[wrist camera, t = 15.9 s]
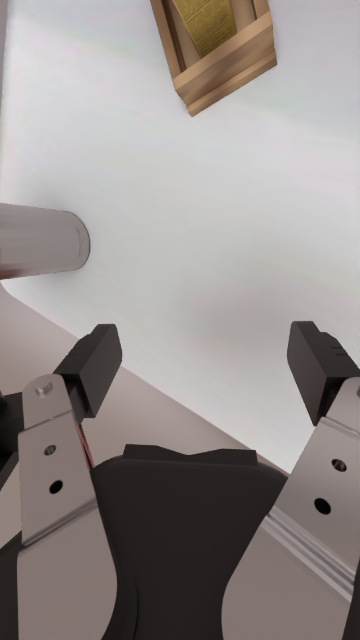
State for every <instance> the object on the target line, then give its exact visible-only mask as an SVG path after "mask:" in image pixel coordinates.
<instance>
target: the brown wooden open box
mask: <svg viewBox="0 0 360 640" xmlns="http://www.w3.org/2000/svg"><path fill="white" fill-rule="evenodd" d="M230 1H231V6H232V10H233V14H234V19H235V23H236V27H237V32H238V33H237V34H236V35H235V36H233V37H232V38H230V39H229V40H227V41H226V42H225V43H223V44H222V45H220V46H219V47H218V48H216V49H215V50H213V51H212V52H211V53H209V54H208V55H206V56H205V57H204V58H202V59H201V57H200V56H199V54H198V52H197V50H196V48H195V46H194V44H193V42H192V40H191V38H190V36H189V35H188V33H187V31H186V29H185V27H184V25H183V23H182V21H181V19H180V17H179V15H178V14H177V12H176V10H175V8H174V6H173V4H172V2H171V0H150V2H151V6H152V9H153V13H154V16H155V20H156V23H157V27H158V31H159V34H160V38H161V41H162V45H163V48H164V52H165V56H166V59H167V63H168V66H169V70H170V73H171V77H172V81H173V84H174V88H175V91H176V92H177V94H178V95H179V96H180V97H181V99H182V100H183V101H184V103H185V104H186V105H187V109H188V112H189V114H190V115H191V116H194V115H196V114H197V113H199V112H200V111H202V110H204V109H205V108H207V107H209V106H210V105H212V104H213V103H215V102H217V101H218V100H220V99H222V98H223V97H225V96H226V95H228V94H230V93H231V92H233V91H235V90H236V89H238V88H239V87H241V86H243V85H244V84H246V83H248V82H249V81H251V80H252V79H254V78H256V77H257V76H259V75H261V74H262V73H264V72H265V71H267V70H269V69H270V68H272V67H274V66H275V65H277V61H276V54H275V49H274V40H273V26H272V20H271V15H270V11H269V6H268V1H267V0H230Z"/></svg>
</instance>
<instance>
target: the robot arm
mask: <svg viewBox="0 0 360 640" xmlns="http://www.w3.org/2000/svg"><path fill="white" fill-rule="evenodd" d="M88 255H89V237H88V233H87V230H86V228H85V226H84V224H83V223H82V222H81V220H80V219H79V218H78V217H77V216H75V215H74V214H72V213H70V212H65V211H58V210H50V209H44V208H36V207H28V206H21V205H13V204H5V203H0V280H3V279H11V278H18V277H26V276H33V275H40V274H48V273H56V272H63V271H71V270H76V269H78V268H80V267H81V266H82V265H83V264H84V263H85V262H86V260H87V257H88ZM287 360H288V364H289V367H290V369H291V372H292V374H293V377H294V379H295V381H296V384H297V386H298V389H299V391H300V394H301V396H302V399H303V401H304V403H305V406H306V408H307V411H308V413H309V416H310V418H311V421H312V423H313V425H314V426H316V428H315V430H314V432H313V434H312V436H311V438H310V439H309V441H308V443H307V445H306V447H305V449H304V450H303V452H302V454H301V456H300V458H299V460H298V461H297V463H296V465H295V467H294V469H293V471H292V472H291V474H290V476H289V478H288V477H287V476H286V475H284V474H283V473H281V472H280V471H278V470H276V469H275V468H273V467H271V466H268V465H266V464H264V463H261V462H258V461H257V456H256V450H240V449H238V450H237V449H218V450H213V451H208V452H203V453H198V454H193V455H185V454H181V453H178V452H175V451H172V450H169V449H166V448H163V447H159V446H155V445H134V444H126V446H125V449H124V452H123V455H120V456H117V457H114V458H111V459H109V460H106V461H104V462H102V463H101V464H99V465H97V466H96V467H95V465H94V462H93V459H92V456H91V453H90V449H89V446H88V443H87V440H86V437H85V434H84V431H83V428H82V425H81V423H82V421H83V419H84V418H95V417H96V415H97V413H98V410H99V408H100V406H101V404H102V402H103V400H104V398H105V396H106V394H107V392H108V390H109V387H110V385H111V383H112V381H113V379H114V377H115V375H116V373H117V371H118V369H119V366H120V364H121V362H122V349H121V344H120V340H119V336H118V332H117V328H116V325H115V324H98V325H97V326H96V327H95V329H94V330H93V331H92V332H91V334H87V335H86V336H85V337H83V338H82V339H80V340H79V341H78V342H77V343H76V344H75V346H74V347H73V349H71V351H70V352H69V353H68V355H67V356H66V357H65V358H64V359H63V361H62V362H61V363H60V365H59V366H58V367H57V368H56V369H55V371H54V372H53V373H52V374H48V375H44V376H41V377H38V378H36V379H35V380H33V381H31V382H30V383H29V384H28V385H27V386H26V387H25V389H24V390H23V392H19V393H15V394H10V395H5V396H3V395H2V393H1V391H0V491H1V489H2V487H3V486H4V484H5V482H6V481H7V479H8V477H9V476H10V474H11V472H12V471H13V469H14V468H15V466H16V464H17V463H18V461H19V473H20V497H21V521H22V530H21V531H20V532H19V533H18V534H17V535H16V536H15V537H13V538H12V539H11V540H10V541H9V542H8V543H7V544H5V545H4V546H3V547H2V548H1V549H0V640H360V369H359V368H358V367H357V365H356V364H355V363H354V361H353V360H352V359H351V357H350V356H348V354H347V352H346V351H345V350H344V349H343V347H342V346H341V344H340V343H339V342H338V340H337V339H336V338H334V337H332V336H331V335H329V334H328V333H326V332H320V331H319V330H318V328H317V327H316V325H315V324H314V322H313V321H293V322H292V324H291V330H290V336H289V343H288V349H287Z"/></svg>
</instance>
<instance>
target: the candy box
mask: <svg viewBox="0 0 360 640" xmlns="http://www.w3.org/2000/svg"><path fill="white" fill-rule="evenodd" d="M171 2H172V4H173V6H174V8H175V10H176V12H177V14H178V15H179V17H180V19H181V21H182V23H183V25H184V27H185V29H186V31H187V33H188V35H189V36H190V38H191V40H192V42H193V44H194V46H195V48H196V50H197V52H198V54H199V56H200V57H201V59H202V58H204V57H205V56H206V55H208V54H209V53H211V52H212V51H213V50H215V49H216V48H218V47H219V46H220V45H222V44H223V43H225V42H226V41H227V40H229V39H230V38H232V37H233V36H235V35H236V34H237V33H238V32H237V27H236V23H235V19H234V14H233V10H232V6H231V1H230V0H171Z"/></svg>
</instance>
